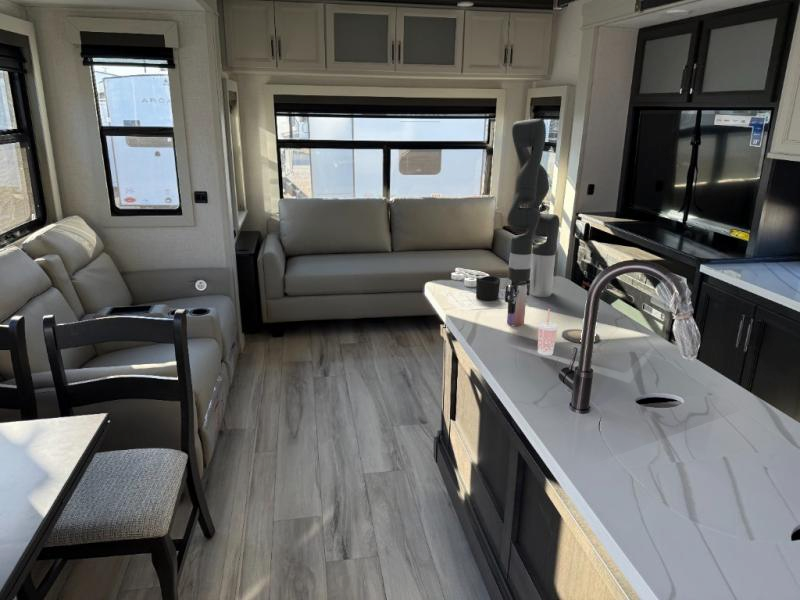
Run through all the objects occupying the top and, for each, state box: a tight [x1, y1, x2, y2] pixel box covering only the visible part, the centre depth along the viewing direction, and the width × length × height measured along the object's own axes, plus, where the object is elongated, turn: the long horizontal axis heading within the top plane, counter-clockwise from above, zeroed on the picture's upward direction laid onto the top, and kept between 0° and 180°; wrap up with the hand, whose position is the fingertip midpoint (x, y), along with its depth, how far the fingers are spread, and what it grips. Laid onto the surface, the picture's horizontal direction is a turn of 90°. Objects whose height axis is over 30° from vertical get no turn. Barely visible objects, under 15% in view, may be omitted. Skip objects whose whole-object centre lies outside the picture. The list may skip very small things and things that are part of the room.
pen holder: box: [475, 275, 501, 302], centre depth 224 cm, size 9×9×10 cm
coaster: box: [561, 328, 601, 344], centre depth 187 cm, size 12×12×1 cm
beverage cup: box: [536, 308, 559, 356], centre depth 171 cm, size 6×6×14 cm
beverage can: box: [506, 282, 527, 327], centre depth 197 cm, size 6×6×15 cm
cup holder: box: [451, 267, 490, 288], centre depth 246 cm, size 20×11×7 cm, turn 26°
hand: (516, 310), depth 197 cm, fingers open, 8 cm apart
